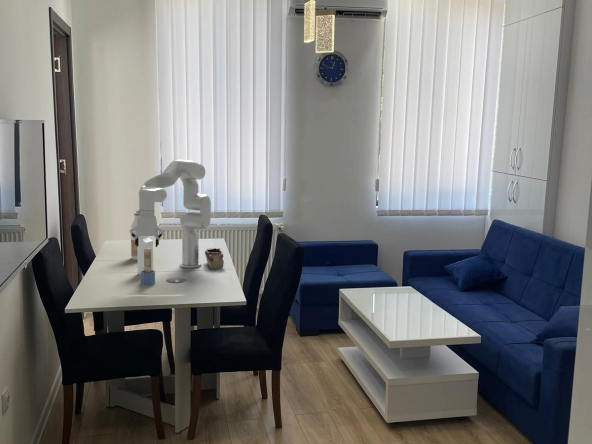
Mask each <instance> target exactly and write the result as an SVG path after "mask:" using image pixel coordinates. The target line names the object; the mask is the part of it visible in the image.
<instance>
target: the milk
mask: <svg viewBox="0 0 592 444" xmlns="http://www.w3.org/2000/svg"><path fill="white" fill-rule="evenodd" d="M146 248H150V249H151V269H152V270H154V240H152V239H151V238H150V236H141V240H139V246H138V247H137V259H138V260H137V274H138V275H141V271H143V270H144V249H146Z"/></svg>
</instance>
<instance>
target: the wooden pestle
mask: <svg viewBox="0 0 592 444" xmlns="http://www.w3.org/2000/svg"><path fill="white" fill-rule="evenodd" d="M151 272H152V269H151V249H150V248H146V249H144V273H151Z"/></svg>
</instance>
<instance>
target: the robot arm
mask: <svg viewBox="0 0 592 444" xmlns="http://www.w3.org/2000/svg"><path fill="white" fill-rule="evenodd" d="M205 176H206V168H205V166H204V165H203V164H201V163H198V162H196V161H192V160H187V159H186V160H184V159H175V160H172V161H171V162H170V163H169V165H168V166H166V167H165V169H164V170H163V172H162V173H160V174H157V175H155V176H153V177H151V178H149V179H148V180H146V181H145V182H144V183H143V185H141V187H140V189H139V191H138V205H139V207H138V209H139V210H136V211H135V213H138V214H139V216H138V217H137V225H136V227H135V228H133V229H131V228H130V229H129V233H130V236H131V235H132V236H133V237H134V238H135V245H136V247H138V246H139V238H138V236H149V237H155V248H157V247H158V246H159V245H160V238H162V236H163V234H164V233H165V230H164V229H162V228H160V227H159V226H158V220H157V216H156V215H155V203H163V202H164V201H166V199H167V197H168V193H167V191H166V190H165V188H169V187H172V186H173V185H175V184H176V182H177V181H178V179H180V180H181V182H182V185H183V201H182V203H183V207H184V209H186V210H190V211H186V212H183V213H182V214H181V216H180V218H179V222H180V227H181V228H180V229H181V248H182V249H181V251H182V252H181V259H182V260H181V262H180V263H179V267H181V268H185V269H187V268H188V269H194V268H199V267H201V266H202V262H200V260H199V258H200V253H199V251H200V249H199V247H200V246H199V241H200V240H199V239H200V238H199V234H198V231H197V230H202V231H206V230H208V229H209V228H210V225H211V218H212V217H211V213H212V201H211V198H210V196H209V195H207V194H205V193H204V194H203V193H202V194H201V193H199V183H198V180H202V179H204V178H205ZM193 211H199V212H193ZM134 230H136V234H137V235H135V234H134V233H133V231H134ZM158 232H160V233H159V234H158Z"/></svg>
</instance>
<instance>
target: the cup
mask: <svg viewBox="0 0 592 444" xmlns="http://www.w3.org/2000/svg"><path fill="white" fill-rule="evenodd" d="M140 284H141V285H142V286H153V285H155V284H156V270H154V269H153V270H152V272H151V273H144V270H143V271H141V274H140Z"/></svg>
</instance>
